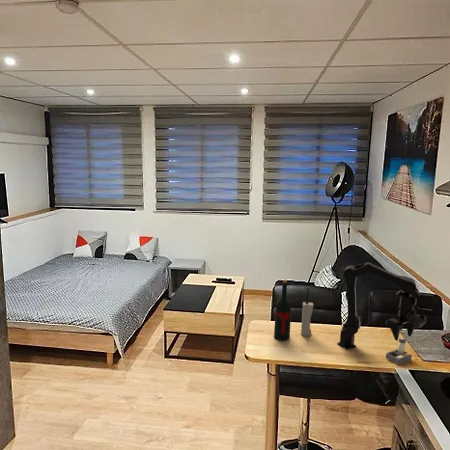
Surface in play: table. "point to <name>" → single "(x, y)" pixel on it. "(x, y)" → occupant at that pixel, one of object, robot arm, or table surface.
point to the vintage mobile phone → (306, 317)
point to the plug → (401, 345)
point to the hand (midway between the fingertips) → (402, 338)
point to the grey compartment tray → (398, 357)
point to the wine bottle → (283, 316)
